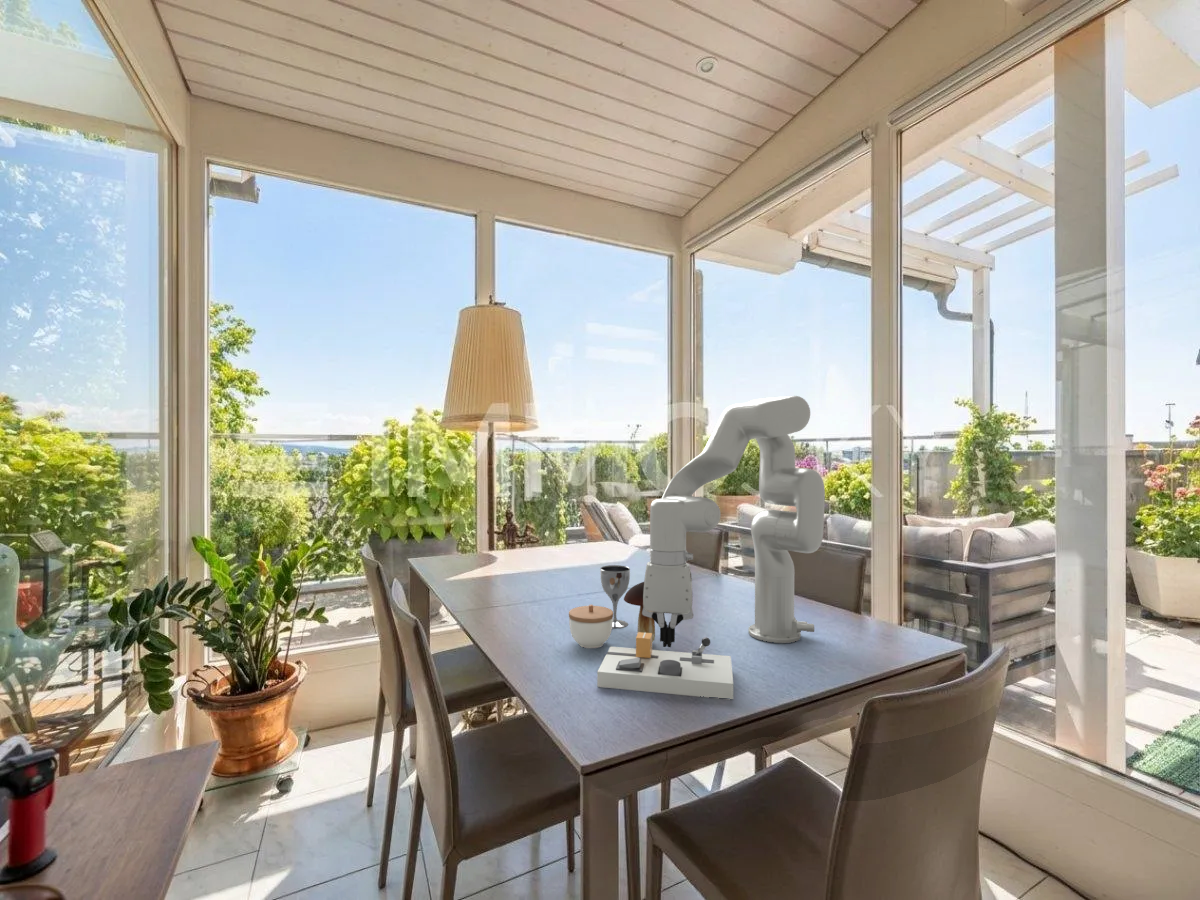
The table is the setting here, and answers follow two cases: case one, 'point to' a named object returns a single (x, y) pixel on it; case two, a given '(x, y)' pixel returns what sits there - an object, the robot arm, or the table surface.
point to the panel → (644, 675)
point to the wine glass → (615, 587)
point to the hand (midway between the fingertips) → (667, 644)
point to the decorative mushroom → (636, 598)
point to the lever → (703, 646)
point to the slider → (644, 645)
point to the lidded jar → (590, 625)
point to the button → (670, 668)
